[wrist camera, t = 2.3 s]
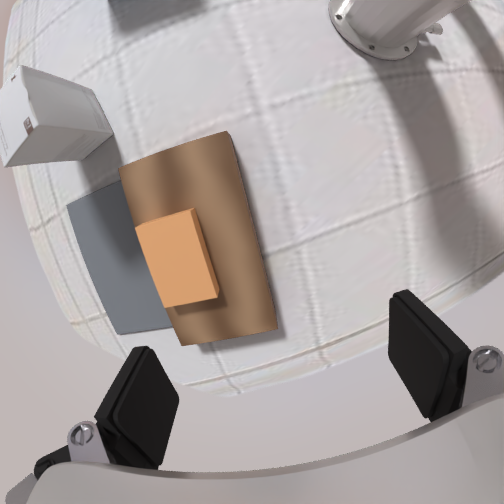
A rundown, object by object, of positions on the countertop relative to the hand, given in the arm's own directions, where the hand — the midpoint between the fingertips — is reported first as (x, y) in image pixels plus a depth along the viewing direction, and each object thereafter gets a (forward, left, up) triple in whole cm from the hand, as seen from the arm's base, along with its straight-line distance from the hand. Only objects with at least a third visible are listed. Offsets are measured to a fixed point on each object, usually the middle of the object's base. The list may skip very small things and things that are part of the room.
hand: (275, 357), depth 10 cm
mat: (+19, 0, -22) cm, 29 cm away
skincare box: (+18, -19, -23) cm, 35 cm away
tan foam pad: (+9, 0, -18) cm, 21 cm away
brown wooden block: (+7, 0, -22) cm, 24 cm away
